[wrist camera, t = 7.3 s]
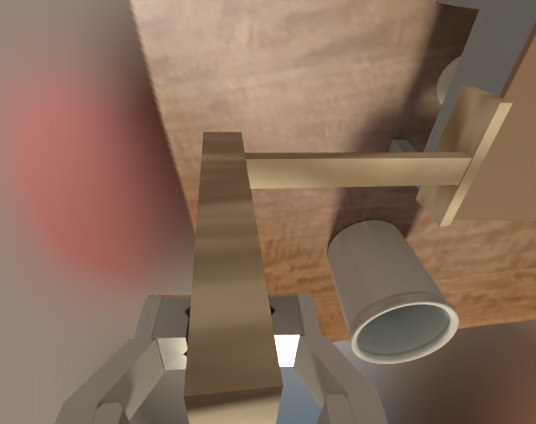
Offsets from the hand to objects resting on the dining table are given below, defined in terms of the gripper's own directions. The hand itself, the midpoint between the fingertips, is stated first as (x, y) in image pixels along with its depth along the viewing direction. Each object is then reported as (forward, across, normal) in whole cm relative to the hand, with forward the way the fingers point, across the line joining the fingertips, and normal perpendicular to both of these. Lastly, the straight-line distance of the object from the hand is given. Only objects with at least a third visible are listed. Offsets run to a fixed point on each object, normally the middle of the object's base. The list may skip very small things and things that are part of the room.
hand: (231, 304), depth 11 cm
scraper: (+13, -7, 0) cm, 15 cm away
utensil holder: (+34, -23, +29) cm, 50 cm away
